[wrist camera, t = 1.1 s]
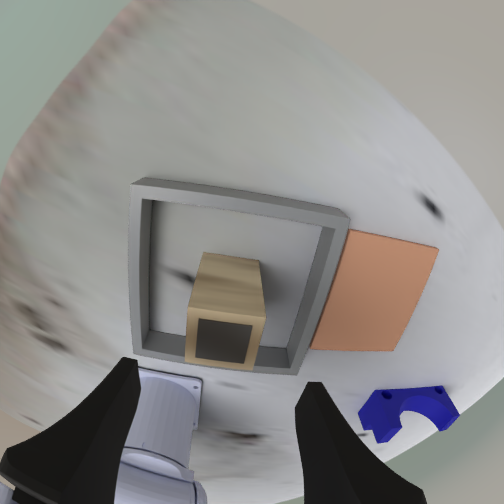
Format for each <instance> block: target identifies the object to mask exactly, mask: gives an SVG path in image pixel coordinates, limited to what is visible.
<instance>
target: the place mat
mask: <svg viewBox="0 0 504 504" xmlns="http://www.w3.org/2000/svg"><path fill="white" fill-rule="evenodd" d="M438 252H439V249H438V248H435V247H431V246H427V245H422V244H418V243H413V242H409V241H404V240H400V239H395V238H391V237H386V236H381V235H377V234H372V233H367V232H362V231H357V230H352V229H348V233H347V236H346V239H345V243H344V246H343V250H342V253H341V256H340V259H339V263H338V266H337V269H336V272H335V275H334V278H333V281H332V284H331V287H330V290H329V293H328V296H327V299H326V302H325V305H324V308H323V311H322V313H321V316H320V319H319V322H318V325H317V327H316V330H315V333H314V335H313V338H312V341H311V343H310V349H319V350H342V351H393V350H394V349H395V347H396V345H397V343H398V341H399V339H400V337H401V336H402V334H403V332H404V330H405V328H406V326H407V324H408V322H409V320H410V318H411V316H412V314H413V311H414V309H415V307H416V305H417V303H418V301H419V298H420V296H421V294H422V292H423V289H424V287H425V285H426V282H427V280H428V278H429V275H430V273H431V270H432V268H433V265H434V262H435V260H436V257H437V255H438Z"/></svg>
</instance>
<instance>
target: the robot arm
mask: <svg viewBox="0 0 504 504" xmlns="http://www.w3.org/2000/svg"><path fill="white" fill-rule="evenodd" d="M201 385H202V382H201V380H199V379H196V378H190V377H184V376H178V375H172V374H166V373H161V372H156V371H151V370H146V369H141V368H138V362H137V360H135V359H131V358H127V357H123V358H121V360H120V361H119V362H118V363H117V365H116V366H115V367H114V368H113V369H112V371H111V372H110V373H109V374H108V375H107V376H106V377H105V379H104V380H103V381H102V382H101V383H100V384H99V385H98V386H97V387H96V388H95V389H94V390H93V391H92V392H91V393H90V394H89V395H88V396H87V397H86V398H85V399H84V400H83V401H82V402H81V403H80V404H79V405H78V406H77V407H76V408H74V409H73V410H72V411H71V412H70V413H68V414H67V415H66V416H65V417H63V418H62V419H61V420H59V421H58V422H56V423H55V424H54V425H52V426H51V427H49V428H47V429H46V430H44V431H42V432H41V433H39V434H37V435H36V436H34V437H32V438H30V439H28V440H26V441H24V442H21V443H19V444H17V445H14V446H12V447H9V448H7V450H6V451H5V453H4V455H3V457H2V459H1V462H0V475H1V476H2V477H4V478H5V479H6V480H8V481H9V482H10V483H11V484H13V485H14V486H16V487H15V490H12V489H11V488H9V487H8V486H6V485H4V484H3V483H1V482H0V504H207V495H206V492H205V490H204V489H203V487H202V485H201V484H200V483H199V482H198V481H194V480H193V479H194V471H192V470H189V469H188V467H189V457H190V448H191V439H192V430H196V429H197V428H198V417H199V406H200V395H201ZM295 424H296V433H297V439H298V445H299V451H300V456H301V462H302V468H303V476H304V504H427V502H426V498H425V495H424V492H423V490H422V489H420V488H419V487H417V486H415V485H413V484H412V483H410V482H408V481H406V480H405V479H404V478H402V477H401V476H399V475H398V474H396V473H395V472H394V471H392V470H391V469H390V468H389V467H388V466H386V465H385V464H384V463H383V462H382V461H381V460H379V459H378V458H377V457H376V456H375V455H374V454H373V453H372V452H371V451H370V450H369V449H368V447H367V446H366V445H365V444H364V443H363V442H362V441H361V439H360V438H359V437H358V436H357V435H356V433H355V432H354V431H353V429H352V428H351V427H350V425H349V424H348V423H347V421H346V420H345V418H344V417H343V415H342V414H341V412H340V411H339V409H338V408H337V406H336V405H335V403H334V402H333V400H332V398H331V397H330V395H329V394H328V392H327V390H326V389H325V387H324V385H323V384H322V382H308V383H307V385H306V387H305V389H304V391H303V393H302V395H301V397H300V399H299V401H298V403H297V405H296V407H295Z"/></svg>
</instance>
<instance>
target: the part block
mask: <svg viewBox="0 0 504 504" xmlns="http://www.w3.org/2000/svg"><path fill="white" fill-rule="evenodd" d="M265 320H266V312H265V305H264V297H263V290H262V282H261V274H260V267H259V260H253V259H246V258H240V257H233V256H226V255H220V254H213V253H206V252H203V255H202V259H201V262H200V266H199V269H198V272H197V276H196V279H195V283H194V287H193V290H192V294H191V297H190V301H189V305H188V312H187V327H186V344H185V362H188V363H195V364H201V365H208V366H216V367H224V368H232V369H242V370H253V366H254V363H255V359H256V355H257V351H258V348H259V344H260V340H261V336H262V332H263V328H264V324H265Z"/></svg>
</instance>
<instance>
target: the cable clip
mask: <svg viewBox="0 0 504 504" xmlns="http://www.w3.org/2000/svg"><path fill="white" fill-rule="evenodd" d="M403 411H414V412H418V413H420V414H422V415H424V416H426V417H427V418H429V419H430V420H431V421H432V422H433V423H434V424H435V425H436V427H437V428H438V430H439V431H443V430H446V429H447V428H448V427H449V426H450V425H451V424H452V423H453V422H454V421H455V420H456V419H457V418H458V417H459V416H460V414H459V413H458V411H457V409H456V408H455V406H454V404H453V402H452V401H451V399H450V398H449V396H448V394H447V393H446V391H445V389H444V388H443V386H432V387H421V388H407V389H387V390H375V391H374V392H373V393H372V395H371V396H370V398H369V399H368V400H367V402H366V403H365V404H364V406H363V407H362V408H361V409H360V411H359V412H358V415H359V418H360V421H361V424H362V427H363V429H364V430H373V433H374V436H375V439H376V441H377V443H384V442H388V441H389V440H390V439H391V438H392V437H393V436H394V435H395V434H396V433H397V432H398V431H399V430H400V429H401V428H402V425H401V422H400V414H401V413H402V412H403Z"/></svg>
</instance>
